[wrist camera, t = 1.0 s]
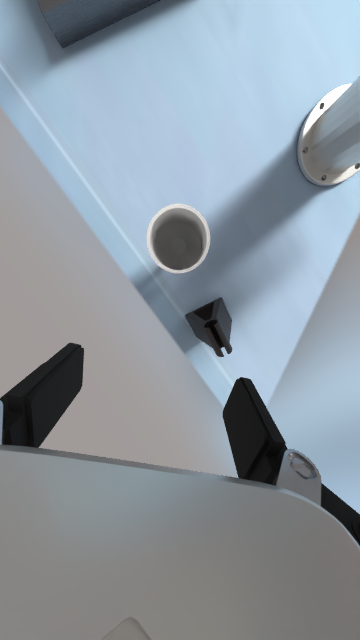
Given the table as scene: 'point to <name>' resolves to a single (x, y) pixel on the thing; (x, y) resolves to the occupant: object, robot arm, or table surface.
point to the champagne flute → (178, 238)
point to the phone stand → (212, 325)
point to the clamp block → (86, 16)
